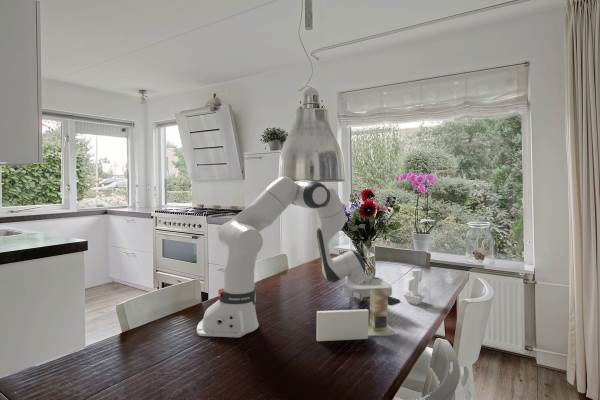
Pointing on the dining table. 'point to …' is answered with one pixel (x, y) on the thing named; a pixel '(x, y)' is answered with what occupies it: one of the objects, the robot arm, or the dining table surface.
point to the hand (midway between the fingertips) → (372, 296)
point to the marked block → (378, 309)
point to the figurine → (414, 288)
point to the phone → (391, 300)
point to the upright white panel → (342, 325)
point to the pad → (381, 332)
